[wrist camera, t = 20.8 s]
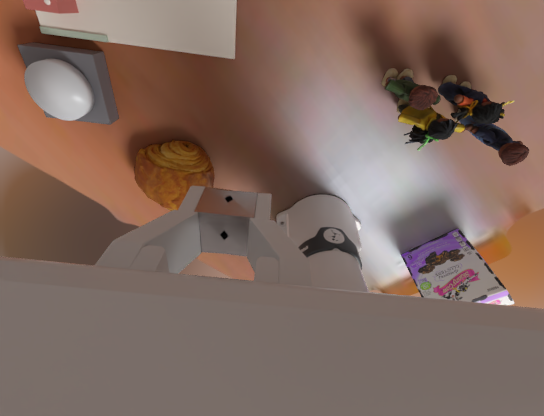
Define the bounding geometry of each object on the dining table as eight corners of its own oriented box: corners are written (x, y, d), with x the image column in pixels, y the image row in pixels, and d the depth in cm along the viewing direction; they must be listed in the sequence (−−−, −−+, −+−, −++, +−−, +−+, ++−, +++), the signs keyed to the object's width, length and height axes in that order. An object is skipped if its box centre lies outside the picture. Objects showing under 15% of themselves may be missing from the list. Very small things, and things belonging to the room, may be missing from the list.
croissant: (227, 149, 52) (223, 165, 45) (203, 213, 58) (197, 235, 52) (150, 119, 48) (133, 131, 41) (134, 191, 55) (117, 211, 48)
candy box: (458, 226, 60) (509, 289, 47) (467, 241, 62) (517, 304, 49) (399, 254, 65) (430, 316, 52) (410, 266, 68) (441, 328, 55)
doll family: (519, 78, 41) (603, 105, 31) (486, 135, 47) (547, 173, 36) (373, 65, 40) (407, 87, 30) (356, 123, 46) (380, 160, 35)
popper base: (119, 118, 46) (110, 124, 43) (58, 111, 45) (46, 117, 43) (103, 51, 40) (92, 54, 37) (33, 42, 39) (17, 44, 37)
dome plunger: (106, 114, 44) (93, 123, 41) (56, 108, 43) (38, 117, 40) (92, 60, 39) (76, 65, 36) (35, 52, 38) (13, 57, 35)
